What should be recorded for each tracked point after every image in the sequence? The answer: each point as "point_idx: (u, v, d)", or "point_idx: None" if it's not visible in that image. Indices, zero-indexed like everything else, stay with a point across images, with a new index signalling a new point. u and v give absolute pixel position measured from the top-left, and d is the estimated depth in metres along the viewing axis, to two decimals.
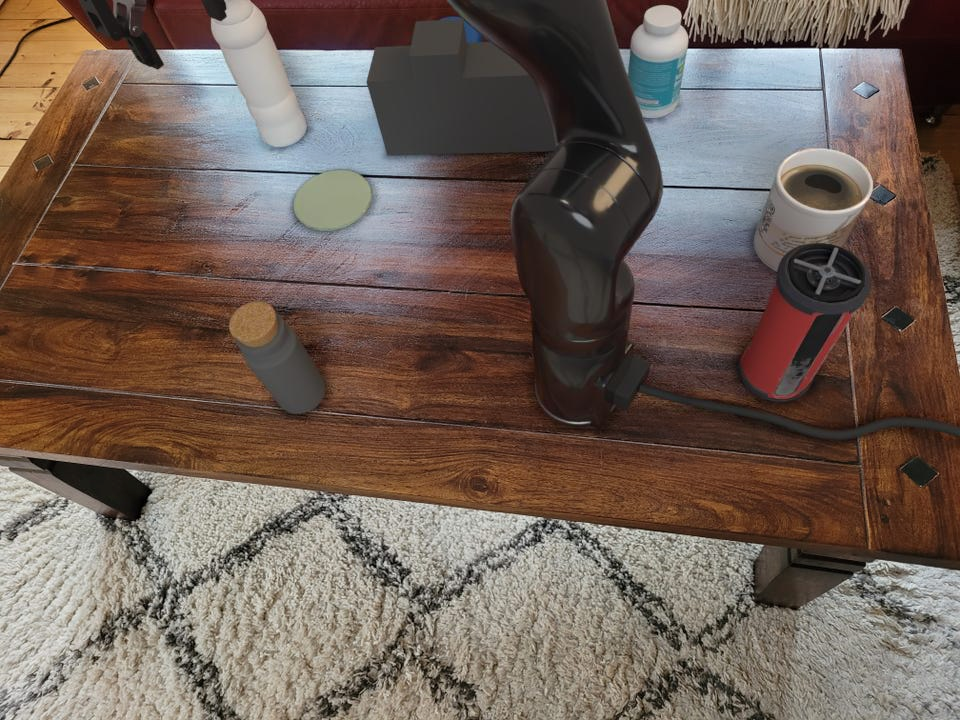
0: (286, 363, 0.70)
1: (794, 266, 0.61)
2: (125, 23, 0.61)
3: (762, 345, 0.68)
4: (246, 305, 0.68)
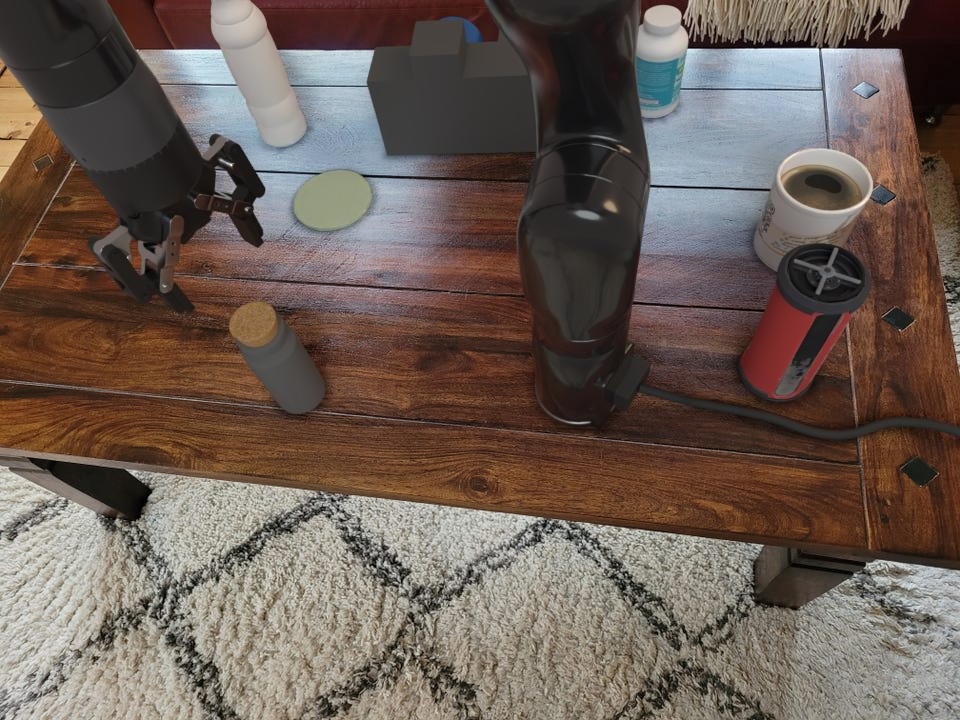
0: (286, 363, 0.70)
1: (794, 266, 0.61)
2: (155, 281, 0.55)
3: (762, 345, 0.68)
4: (246, 305, 0.68)
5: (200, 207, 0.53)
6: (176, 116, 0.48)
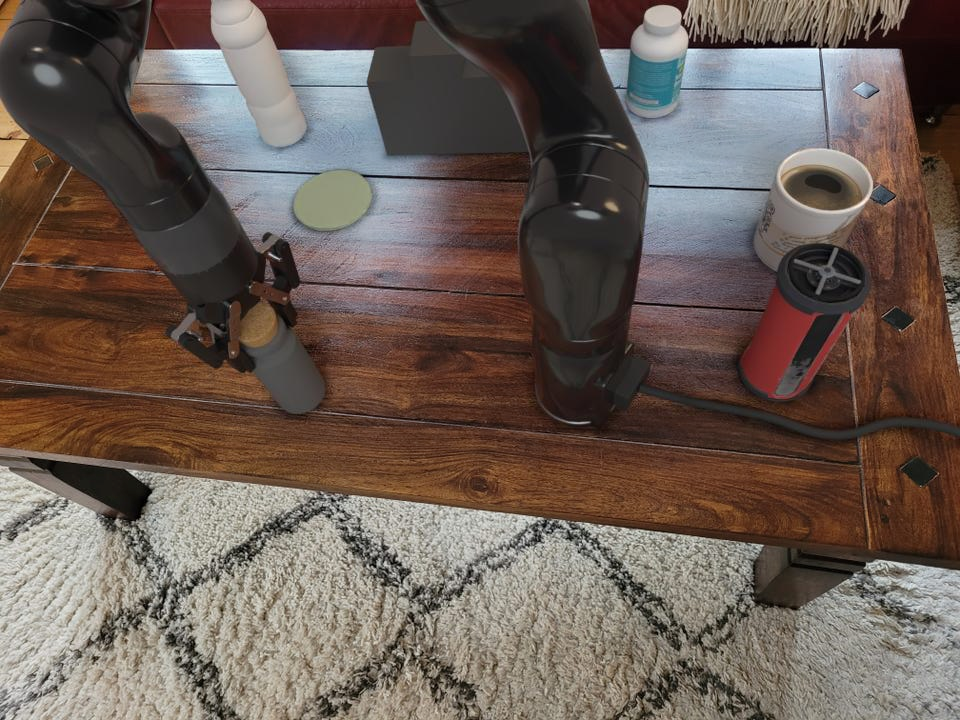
0: (286, 364, 0.70)
1: (794, 266, 0.61)
2: (224, 351, 0.65)
3: (762, 345, 0.68)
4: None
5: (253, 292, 0.63)
6: (239, 225, 0.57)
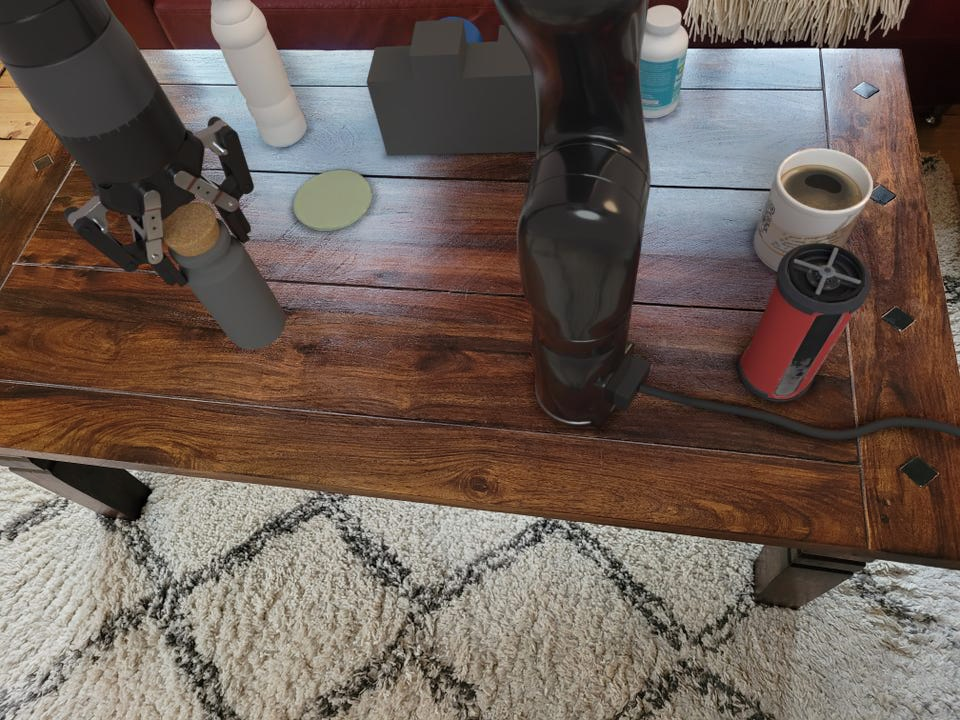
0: (225, 284, 0.58)
1: (794, 266, 0.61)
2: (143, 253, 0.54)
3: (762, 345, 0.68)
4: (185, 205, 0.56)
5: (179, 184, 0.51)
6: (154, 88, 0.45)
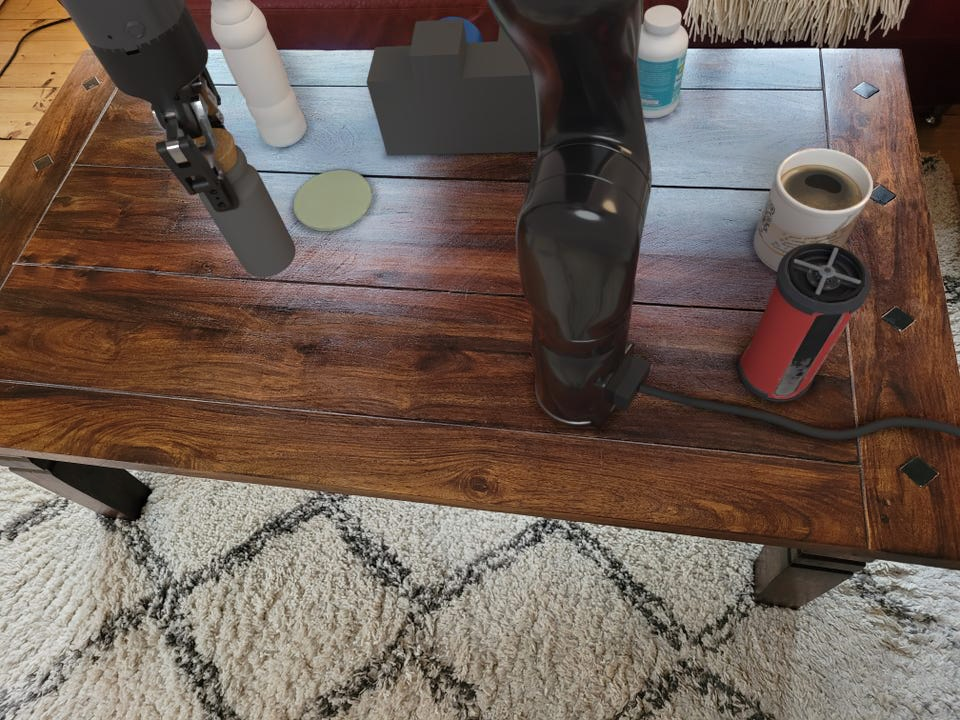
0: None
1: (794, 266, 0.61)
2: None
3: (762, 345, 0.68)
4: (226, 149, 0.59)
5: None
6: (95, 44, 0.48)
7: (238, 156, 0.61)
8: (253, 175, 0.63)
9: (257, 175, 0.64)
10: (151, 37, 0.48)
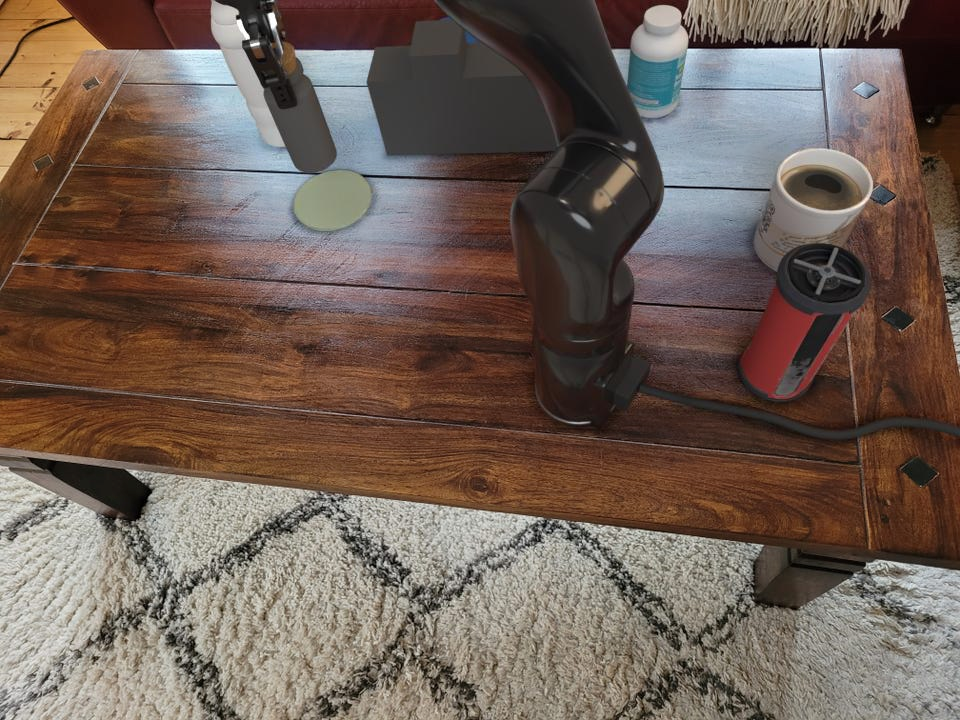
0: None
1: (794, 266, 0.61)
2: None
3: (762, 345, 0.68)
4: (289, 56, 0.75)
5: None
6: None
7: (297, 64, 0.77)
8: (307, 82, 0.79)
9: (310, 82, 0.80)
10: None
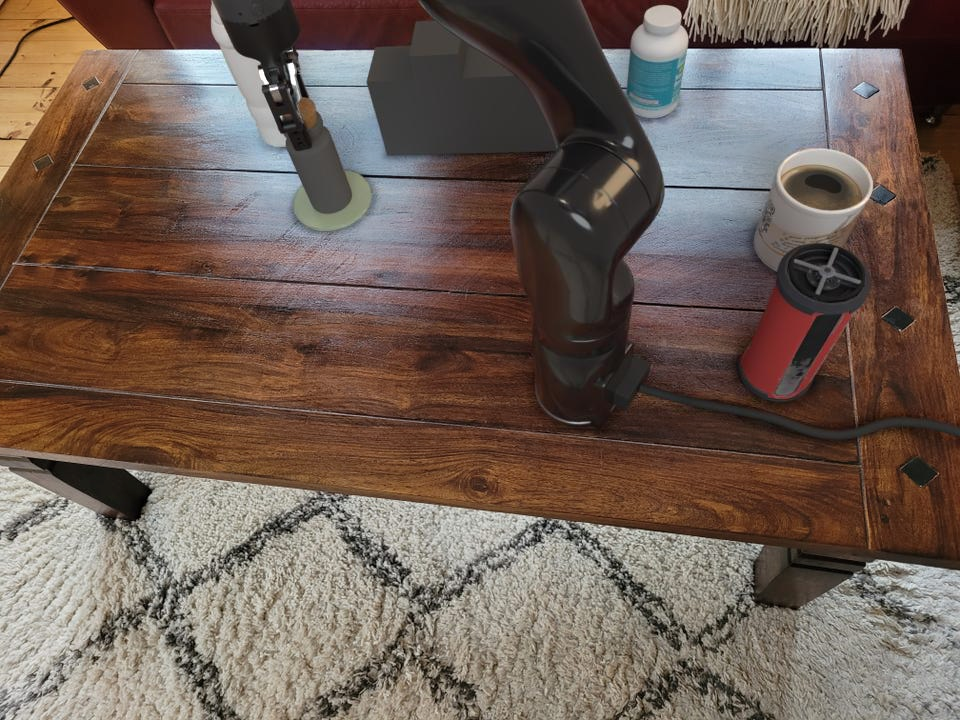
0: None
1: (794, 266, 0.61)
2: None
3: (762, 345, 0.68)
4: (310, 111, 0.82)
5: None
6: (228, 19, 0.69)
7: (317, 118, 0.84)
8: (326, 133, 0.86)
9: (329, 133, 0.86)
10: (267, 14, 0.69)
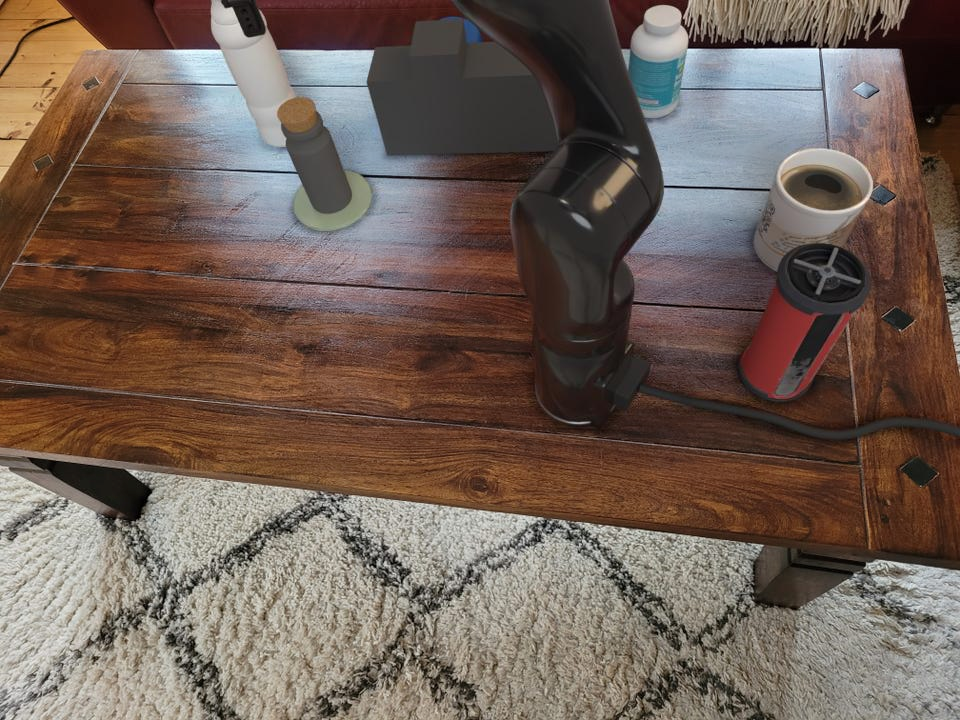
0: None
1: (794, 266, 0.61)
2: None
3: (762, 345, 0.68)
4: (310, 111, 0.82)
5: None
6: None
7: (317, 118, 0.84)
8: (326, 133, 0.86)
9: (329, 133, 0.86)
10: None
